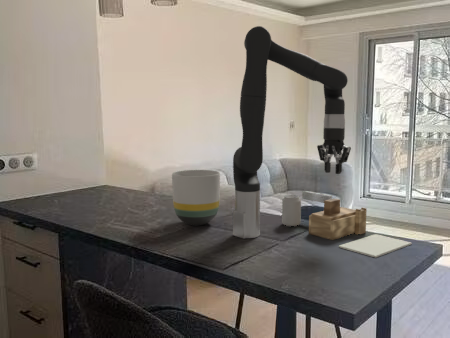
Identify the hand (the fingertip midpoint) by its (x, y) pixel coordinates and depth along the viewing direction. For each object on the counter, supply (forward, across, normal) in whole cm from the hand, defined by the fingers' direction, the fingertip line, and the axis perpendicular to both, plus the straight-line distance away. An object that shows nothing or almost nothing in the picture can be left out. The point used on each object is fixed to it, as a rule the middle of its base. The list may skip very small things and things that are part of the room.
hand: (332, 172), depth 162 cm
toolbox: (+23, 0, +2) cm, 23 cm away
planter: (+23, -45, -30) cm, 59 cm away
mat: (+23, +19, 0) cm, 30 cm away
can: (+23, -19, -2) cm, 30 cm away
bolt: (+14, -15, +9) cm, 22 cm away
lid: (+17, 0, +2) cm, 17 cm away
